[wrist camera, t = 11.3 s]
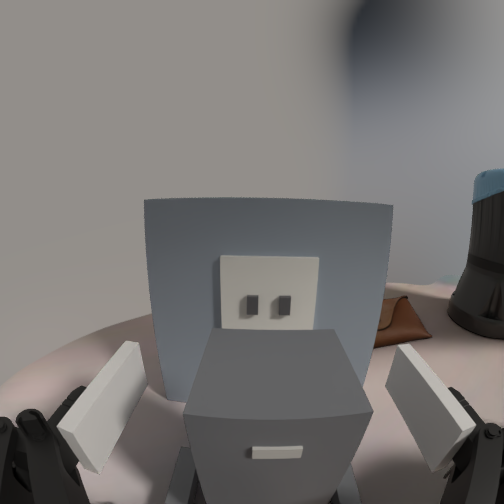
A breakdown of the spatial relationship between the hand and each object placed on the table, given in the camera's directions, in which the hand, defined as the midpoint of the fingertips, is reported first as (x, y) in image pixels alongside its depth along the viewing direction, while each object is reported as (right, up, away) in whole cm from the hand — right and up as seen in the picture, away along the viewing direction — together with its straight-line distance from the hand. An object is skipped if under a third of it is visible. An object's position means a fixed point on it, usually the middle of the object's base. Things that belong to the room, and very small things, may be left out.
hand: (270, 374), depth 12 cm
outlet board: (0, -8, +2) cm, 8 cm away
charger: (0, -9, -2) cm, 9 cm away
